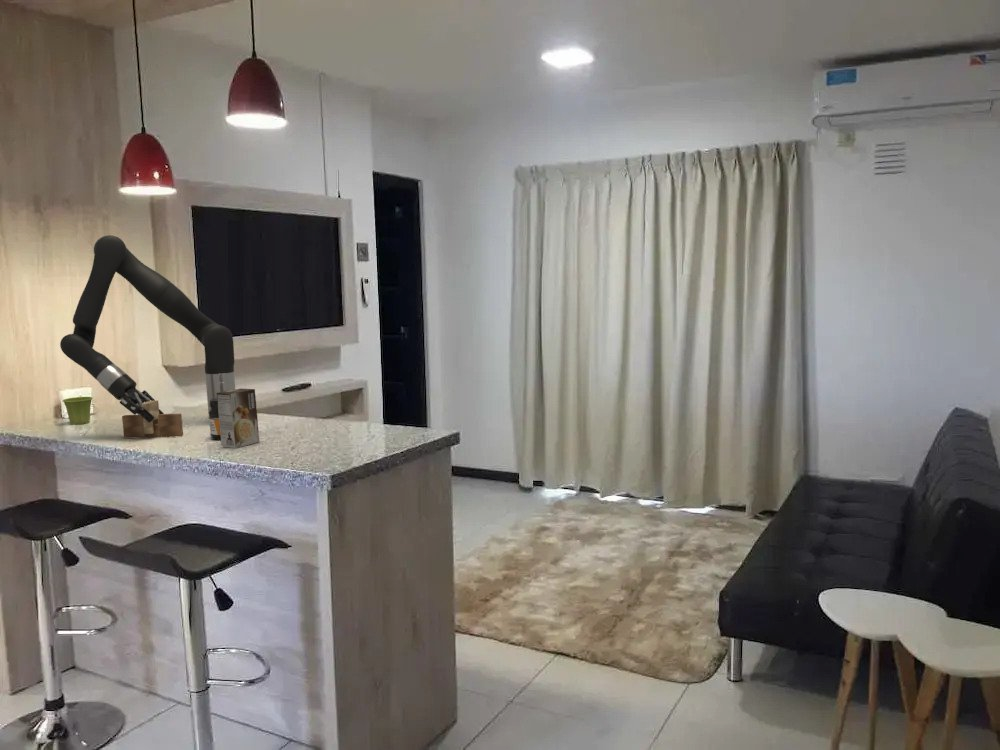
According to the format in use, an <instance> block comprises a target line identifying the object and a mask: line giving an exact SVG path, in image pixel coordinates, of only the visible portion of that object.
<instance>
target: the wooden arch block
mask: <svg viewBox="0 0 1000 750" xmlns="http://www.w3.org/2000/svg"><path fill="white" fill-rule="evenodd" d="M159 404H160V403H159V400H156V399H155V401H151V400H150V401H148V402H145V403H142V406H143V407H144V408H145V410H147V411H148V412H149V413H150V414H152V415H153V416H154V419H153V420H152V422H148V421H147V420H146V419H144V418H143V424H144V434H153V433H154V430H153V424H159V420H158V415H159V409H160V407H159V406H160V405H159Z"/></svg>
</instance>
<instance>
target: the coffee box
mask: <svg viewBox="0 0 1000 750" xmlns="http://www.w3.org/2000/svg"><path fill="white" fill-rule="evenodd" d="M217 402H218V413H219V424H220V435H221V440H220V443H221V444H220V445H221V447H222V446H223V447H222V448H229V447H230V448H231V449H237V448H238V447H239V448H242V447H245V446H249V445H252V444H253V445H254V444H257V443H260V434H259V431H260V430H259V420H258V409H257V398H256V389H255V388H235V390H229V391H224V392H219V393H217Z"/></svg>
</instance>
